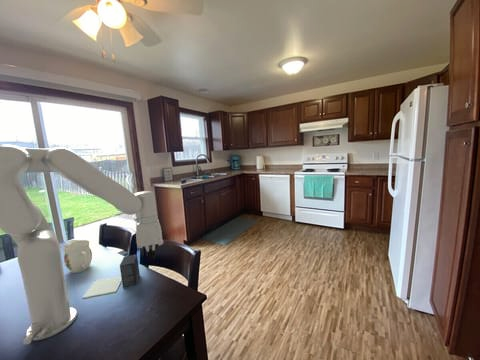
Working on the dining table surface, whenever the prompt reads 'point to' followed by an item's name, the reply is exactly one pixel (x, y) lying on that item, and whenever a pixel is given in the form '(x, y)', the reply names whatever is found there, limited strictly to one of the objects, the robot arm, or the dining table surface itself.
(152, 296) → the dining table surface
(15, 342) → the dining table surface
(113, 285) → the mat
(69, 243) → the pitcher
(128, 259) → the box
